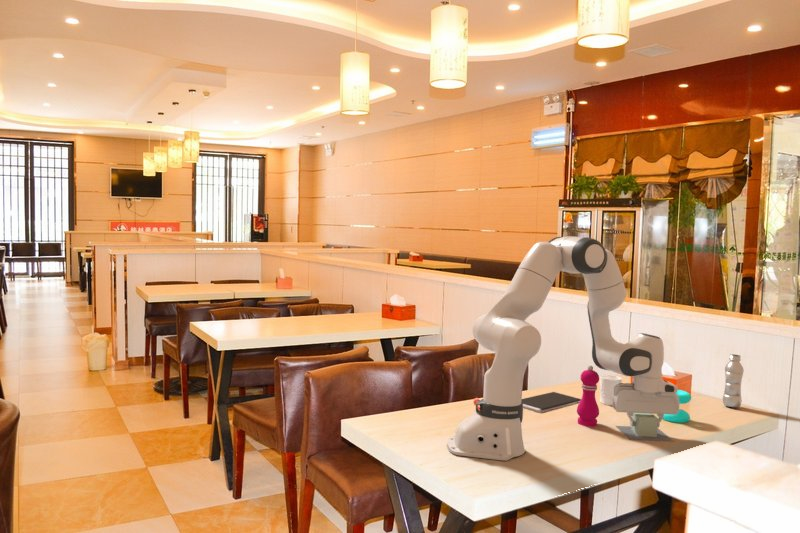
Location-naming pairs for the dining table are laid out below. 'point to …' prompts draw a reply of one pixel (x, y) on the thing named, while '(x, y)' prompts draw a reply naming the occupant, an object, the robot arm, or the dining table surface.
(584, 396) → the pepper mill
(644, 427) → the sage block
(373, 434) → the dining table surface
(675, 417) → the donuts
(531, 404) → the dark grey flat slab
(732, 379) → the plastic bottle
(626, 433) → the mat
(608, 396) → the white cup
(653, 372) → the robot arm
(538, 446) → the dining table surface
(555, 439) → the dining table surface
